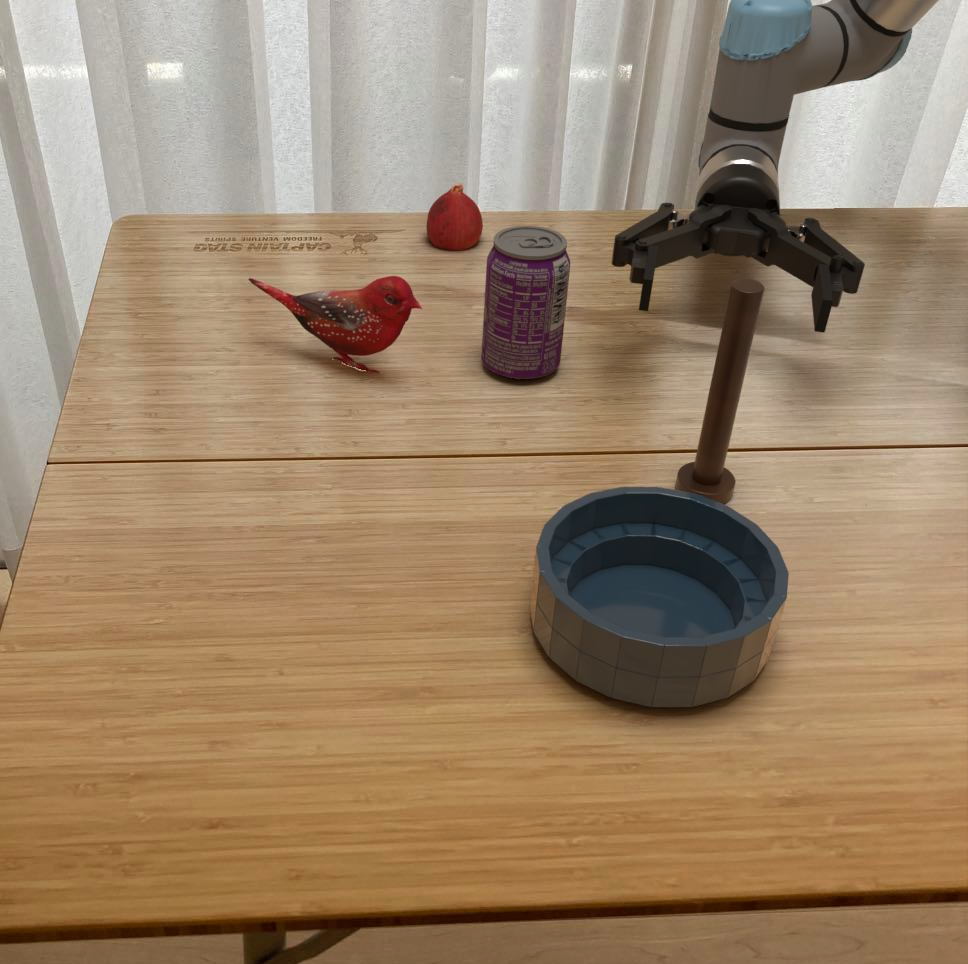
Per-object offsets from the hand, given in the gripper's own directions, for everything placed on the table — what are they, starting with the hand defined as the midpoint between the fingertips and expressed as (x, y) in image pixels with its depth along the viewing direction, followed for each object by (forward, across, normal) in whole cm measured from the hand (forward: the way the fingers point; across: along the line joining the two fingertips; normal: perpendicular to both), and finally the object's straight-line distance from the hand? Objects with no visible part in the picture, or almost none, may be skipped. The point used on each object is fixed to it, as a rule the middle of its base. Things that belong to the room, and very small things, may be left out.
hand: (733, 306), depth 86 cm
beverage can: (-6, +17, -11) cm, 21 cm away
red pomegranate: (-26, +28, -11) cm, 40 cm away
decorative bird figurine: (-2, +33, -11) cm, 35 cm away
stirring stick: (+10, 0, -11) cm, 15 cm away
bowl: (+26, +3, -11) cm, 29 cm away
